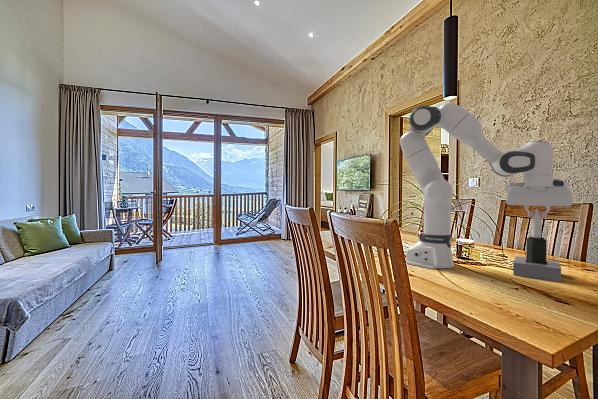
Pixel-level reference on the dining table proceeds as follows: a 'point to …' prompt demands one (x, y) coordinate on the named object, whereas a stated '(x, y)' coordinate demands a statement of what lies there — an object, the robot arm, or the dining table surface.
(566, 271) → the dining table surface
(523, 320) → the dining table surface
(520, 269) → the holder
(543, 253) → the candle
